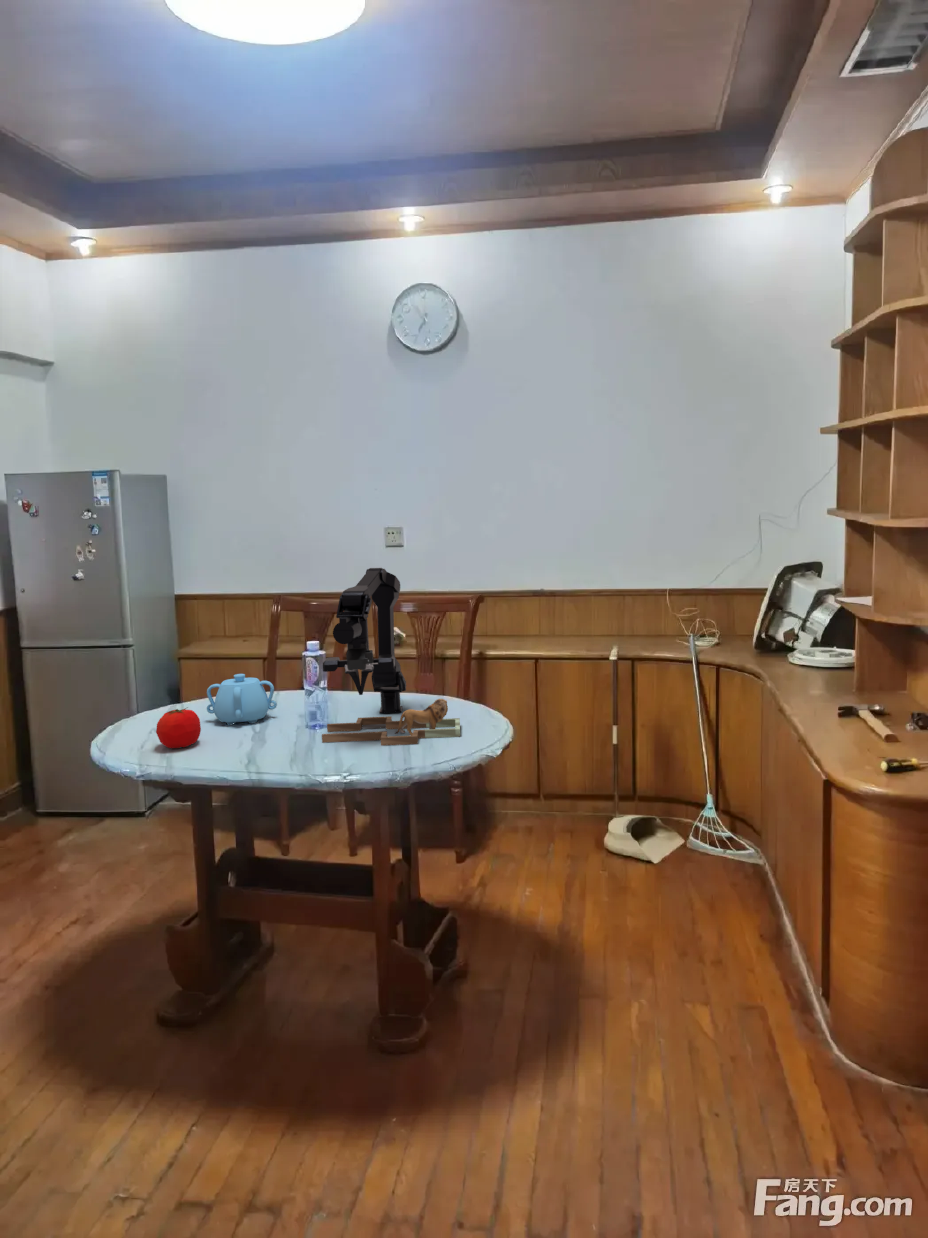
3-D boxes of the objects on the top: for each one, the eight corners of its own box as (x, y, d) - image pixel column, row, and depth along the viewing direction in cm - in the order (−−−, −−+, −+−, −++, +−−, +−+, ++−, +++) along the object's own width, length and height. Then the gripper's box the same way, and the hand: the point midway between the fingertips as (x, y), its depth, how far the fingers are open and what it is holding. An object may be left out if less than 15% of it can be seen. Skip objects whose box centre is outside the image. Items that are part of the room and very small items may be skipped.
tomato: (213, 742, 249) (210, 704, 248) (176, 755, 239) (173, 716, 237) (183, 737, 255) (180, 700, 254) (146, 750, 244) (142, 712, 243)
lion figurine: (446, 728, 253) (445, 696, 252) (450, 733, 248) (449, 700, 247) (393, 733, 250) (391, 701, 249) (396, 738, 245) (394, 705, 244)
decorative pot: (252, 710, 283) (248, 666, 281) (282, 718, 272) (278, 672, 270) (203, 722, 272) (199, 676, 270) (233, 730, 260) (229, 682, 258)
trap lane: (330, 725, 261) (330, 719, 260) (459, 720, 261) (459, 713, 261) (319, 748, 239) (318, 740, 239) (460, 742, 239) (460, 734, 239)
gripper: (318, 644, 239) (322, 703, 241) (391, 641, 239) (394, 700, 242) (323, 636, 250) (327, 693, 252) (393, 633, 250) (396, 690, 253)
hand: (361, 694), depth 250 cm, fingers closed
